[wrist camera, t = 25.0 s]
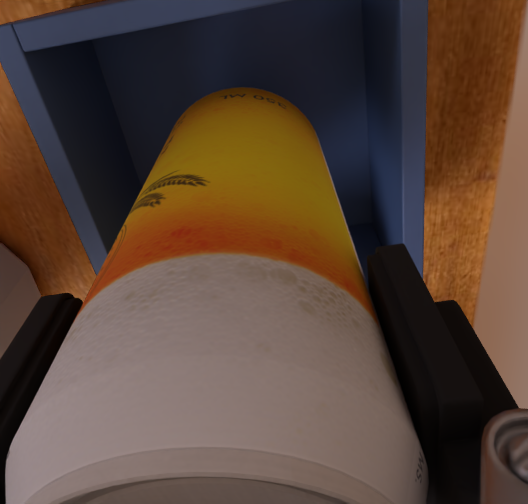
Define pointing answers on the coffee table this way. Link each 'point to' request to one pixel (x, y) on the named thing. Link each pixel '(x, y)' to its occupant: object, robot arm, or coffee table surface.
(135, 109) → the blue bin
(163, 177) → the beer can
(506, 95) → the coffee table surface
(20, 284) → the water bottle
